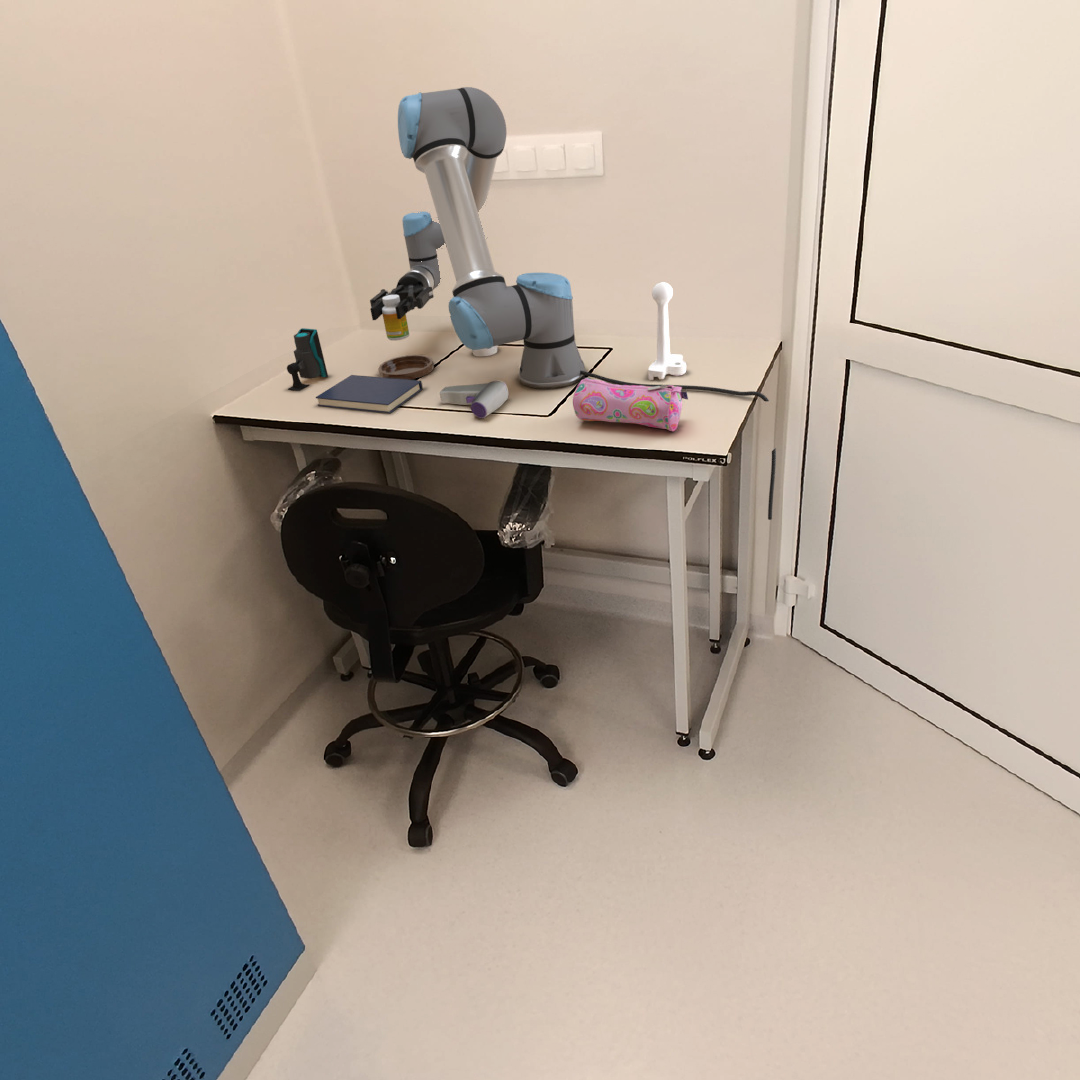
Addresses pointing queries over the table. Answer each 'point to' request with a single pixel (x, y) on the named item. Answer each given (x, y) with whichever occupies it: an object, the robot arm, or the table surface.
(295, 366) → the surveillance camera
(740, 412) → the table surface
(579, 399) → the pencil case
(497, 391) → the infrared thermometer
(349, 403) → the book
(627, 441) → the table surface
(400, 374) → the brown round tray
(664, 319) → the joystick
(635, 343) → the table surface
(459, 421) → the table surface
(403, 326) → the supplement bottle
